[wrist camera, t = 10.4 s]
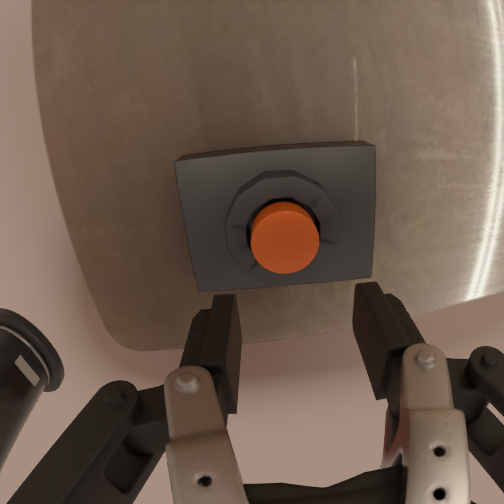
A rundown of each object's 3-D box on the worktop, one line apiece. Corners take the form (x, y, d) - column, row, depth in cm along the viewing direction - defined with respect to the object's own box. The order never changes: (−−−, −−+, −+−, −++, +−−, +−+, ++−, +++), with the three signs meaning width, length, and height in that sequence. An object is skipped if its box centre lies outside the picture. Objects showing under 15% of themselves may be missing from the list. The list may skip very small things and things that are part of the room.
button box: (202, 276, 24) (193, 307, 20) (181, 155, 20) (164, 166, 16) (363, 263, 23) (379, 292, 20) (364, 141, 19) (386, 149, 16)
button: (254, 262, 19) (254, 276, 18) (248, 203, 18) (247, 214, 16) (315, 257, 19) (319, 271, 17) (313, 198, 17) (318, 208, 16)
